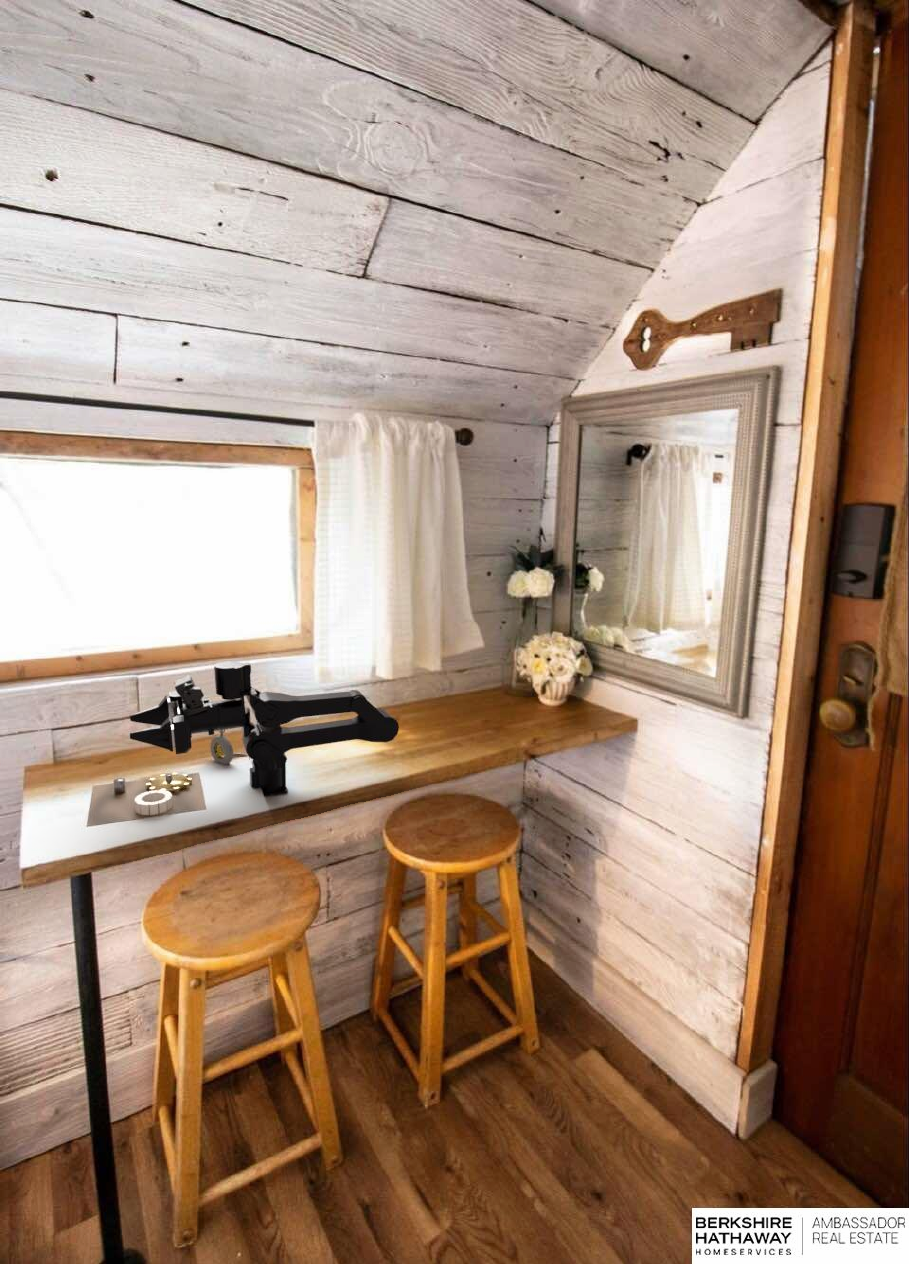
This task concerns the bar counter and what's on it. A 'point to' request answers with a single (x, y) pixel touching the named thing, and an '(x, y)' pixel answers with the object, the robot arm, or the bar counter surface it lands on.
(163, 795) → the ring gear
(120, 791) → the steel peg
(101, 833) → the bar counter surface
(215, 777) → the bar counter surface
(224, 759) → the pocket watch
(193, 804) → the gear board
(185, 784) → the brass drive gear
